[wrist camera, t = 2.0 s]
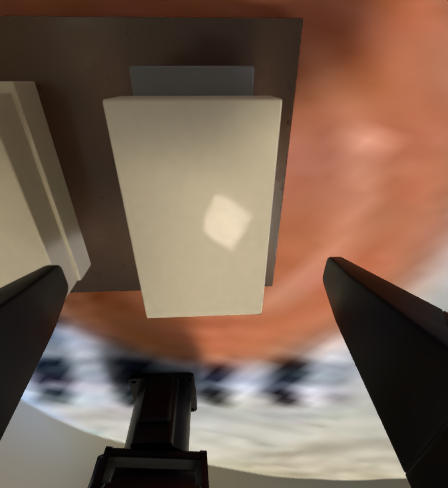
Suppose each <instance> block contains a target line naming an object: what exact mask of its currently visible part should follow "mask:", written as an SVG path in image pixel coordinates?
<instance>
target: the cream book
mask: <svg viewBox="0 0 448 488" xmlns="http://www.w3.org/2000/svg"><path fill="white" fill-rule="evenodd" d="M103 107H104V112H105V116H106V121H107V126H108V131H109V136H110V141H111V146H112V151H113V155H114V160H115V165H116V170H117V175H118V180H119V185H120V189H121V194H122V199H123V204H124V209H125V214H126V219H127V224H128V228H129V233H130V238H131V243H132V248H133V253H134V258H135V262H136V267H137V272H138V277H139V282H140V287H141V292H142V297H143V301H144V306H145V311H146V316H147V318H163V317H191V316H218V315H245V314H261V313H262V307H263V296H264V286H265V276H266V265H267V255H268V245H269V234H270V224H271V214H272V203H273V193H274V183H275V172H276V162H277V152H278V141H279V131H280V121H281V110H282V99H280V98H277V97H273V96H119V97H114V98H108V99H104V100H103Z"/></svg>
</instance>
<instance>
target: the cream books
mask: <svg viewBox="0 0 448 488" xmlns="http://www.w3.org/2000/svg"><path fill="white" fill-rule="evenodd" d="M46 265H59V266H61V267H62V269H63V272H64V275H65V277H66V280H67V283H68V293H67V296H68V294H69V293H70V291H71V290H72V288H73V287H74V285H75V284H76V282H77V280H81V279H82V278H83V276H84V275H85V273H86V272H87V270H88V269H89V267H90V265H91V263H90V259H89V256H88V253H87V250H86V246H85V243H84V240H83V237H82V233H81V230H80V227H79V224H78V220H77V217H76V214H75V211H74V208H73V204H72V201H71V198H70V195H69V191H68V188H67V185H66V182H65V178H64V175H63V172H62V169H61V165H60V162H59V159H58V156H57V153H56V149H55V146H54V143H53V140H52V136H51V133H50V130H49V127H48V123H47V120H46V117H45V114H44V111H43V107H42V104H41V101H40V98H39V94H38V91H37V88H36V85H35V82H33V81H0V288H1V287H3V286H5V285H7V284H9V283H11V282H13V281H15V280H17V279H19V278H21V277H23V276H25V275H27V274H29V273H31V272H33V271H35V270H37V269H39V268H41V267H43V266H46ZM67 296H66V297H67Z"/></svg>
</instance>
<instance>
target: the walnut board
mask: <svg viewBox="0 0 448 488" xmlns="http://www.w3.org/2000/svg"><path fill="white" fill-rule="evenodd" d="M302 27H303V18H221V17H91V16H0V81H33V82H35V85H36V88H37V91H38V94H39V98H40V101H41V104H42V107H43V111H44V114H45V117H46V120H47V123H48V127H49V130H50V133H51V136H52V140H53V143H54V146H55V149H56V153H57V156H58V159H59V162H60V165H61V169H62V172H63V175H64V178H65V182H66V185H67V188H68V191H69V195H70V198H71V201H72V204H73V208H74V211H75V214H76V217H77V220H78V224H79V227H80V230H81V233H82V237H83V240H84V243H85V246H86V250H87V253H88V256H89V259H90V263H91V265H90V267H89V269H88V270H87V272H86V273H85V275H84V276H83V278H82V279H81V280H77V282H76V284H75V285H74V287H73V288H72V290H71V291H70V293H73V292H104V291H135V290H141V287H140V282H139V277H138V272H137V267H136V262H135V258H134V253H133V248H132V243H131V238H130V233H129V228H128V224H127V219H126V214H125V209H124V204H123V199H122V194H121V189H120V185H119V180H118V175H117V170H116V165H115V160H114V155H113V151H112V146H111V141H110V136H109V131H108V126H107V121H106V116H105V112H104V107H103V100H104V99H108V98H114V97H119V96H133V92H132V85H131V79H130V72H129V66H254V85H253V96H273V97H277V98H280V99H282V110H281V121H280V131H279V141H278V152H277V162H276V172H275V183H274V193H273V203H272V214H271V224H270V234H269V245H268V255H267V265H266V276H265V286H272V285H273V277H274V268H275V260H276V251H277V242H278V234H279V225H280V216H281V208H282V199H283V191H284V182H285V173H286V165H287V156H288V148H289V139H290V130H291V122H292V113H293V104H294V96H295V87H296V79H297V70H298V61H299V53H300V44H301V35H302Z"/></svg>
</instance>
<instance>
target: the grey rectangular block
mask: <svg viewBox="0 0 448 488" xmlns="http://www.w3.org/2000/svg"><path fill="white" fill-rule="evenodd" d="M129 72H130V79H131V85H132V92H133V96H253V85H254V66H129Z"/></svg>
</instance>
